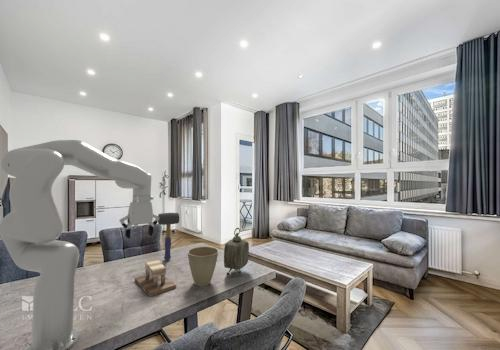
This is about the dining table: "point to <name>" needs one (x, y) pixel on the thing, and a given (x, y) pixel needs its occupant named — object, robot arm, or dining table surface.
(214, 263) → the plant pot
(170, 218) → the rubber mallet
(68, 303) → the robot arm
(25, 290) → the dining table surface
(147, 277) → the wooden peg stand
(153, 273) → the oak board
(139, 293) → the dining table surface
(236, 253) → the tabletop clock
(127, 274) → the dining table surface
